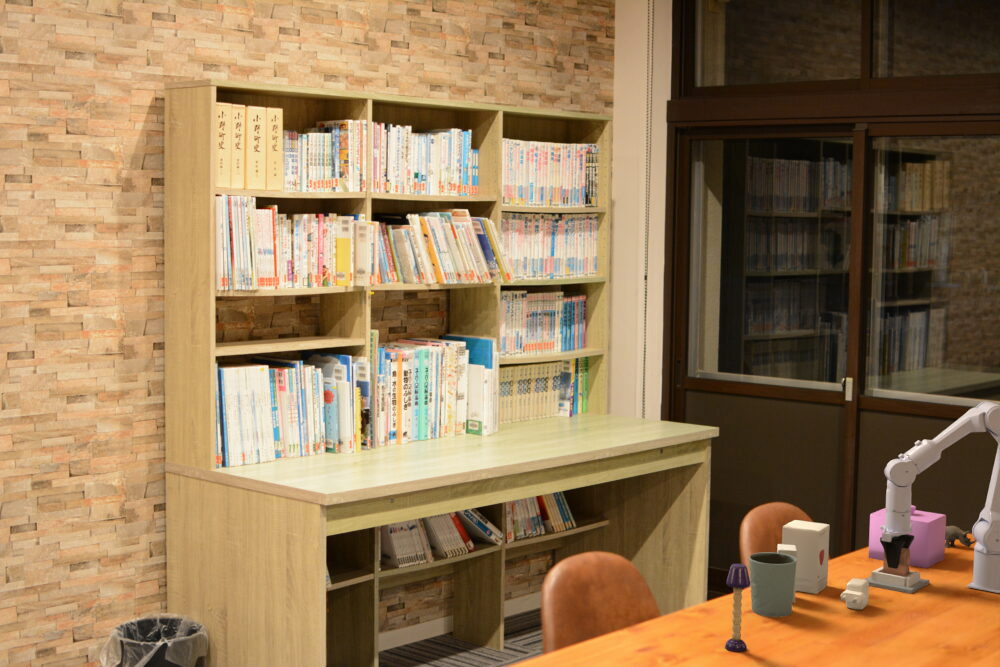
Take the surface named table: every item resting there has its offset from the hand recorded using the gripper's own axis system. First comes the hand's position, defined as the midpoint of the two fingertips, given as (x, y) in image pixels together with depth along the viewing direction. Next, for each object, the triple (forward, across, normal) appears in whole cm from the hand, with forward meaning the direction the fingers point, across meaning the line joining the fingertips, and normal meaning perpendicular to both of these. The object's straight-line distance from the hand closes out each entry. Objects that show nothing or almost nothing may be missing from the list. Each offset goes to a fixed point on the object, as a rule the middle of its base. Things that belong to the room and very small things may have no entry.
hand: (896, 566), depth 282 cm
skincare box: (+4, +30, -14) cm, 33 cm away
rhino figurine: (+5, -47, -3) cm, 47 cm away
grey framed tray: (+4, 0, 0) cm, 4 cm away
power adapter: (+4, +27, +1) cm, 27 cm away
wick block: (+2, 0, 0) cm, 2 cm away
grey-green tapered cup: (+4, +41, -12) cm, 43 cm away
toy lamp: (+4, +68, -6) cm, 68 cm away
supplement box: (+4, +18, -15) cm, 24 cm away
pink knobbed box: (+5, -25, -7) cm, 26 cm away
